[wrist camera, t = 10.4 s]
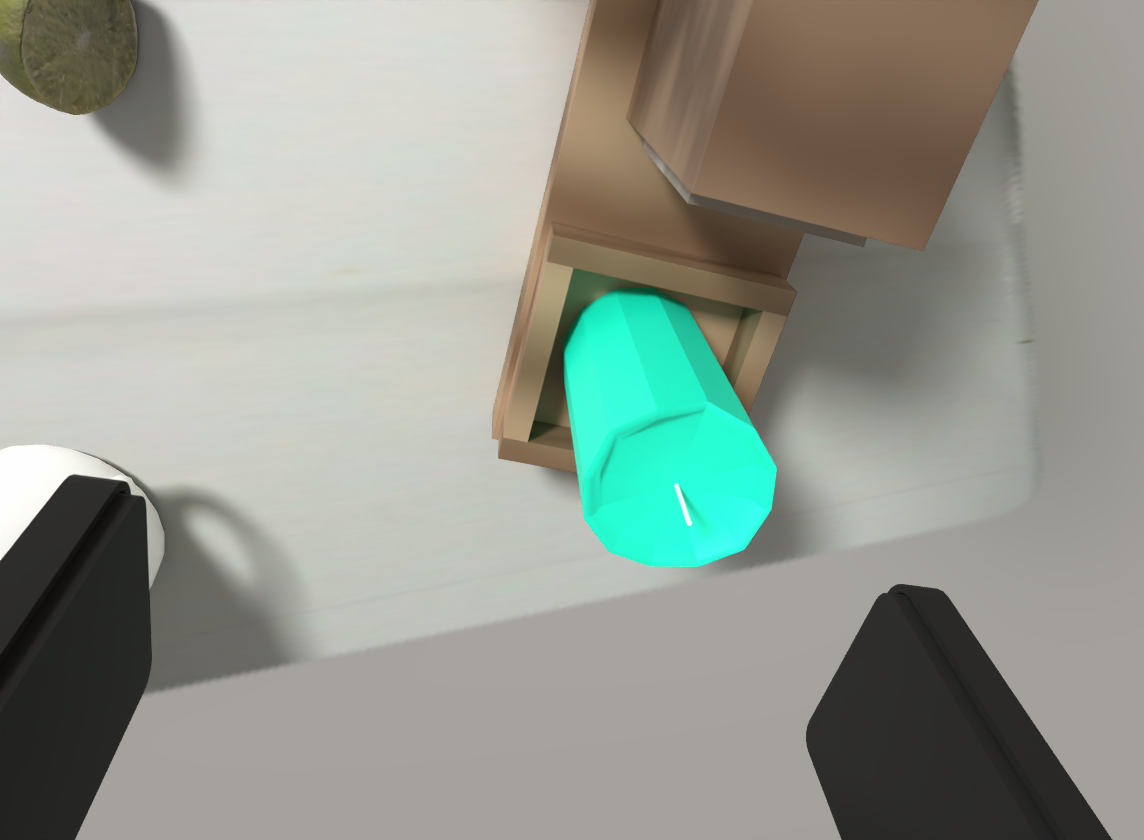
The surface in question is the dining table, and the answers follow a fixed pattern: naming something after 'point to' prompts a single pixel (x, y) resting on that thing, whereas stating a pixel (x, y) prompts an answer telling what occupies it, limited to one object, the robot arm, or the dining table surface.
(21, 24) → the lime
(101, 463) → the mug
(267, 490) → the dining table surface
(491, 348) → the dining table surface
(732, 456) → the candle
